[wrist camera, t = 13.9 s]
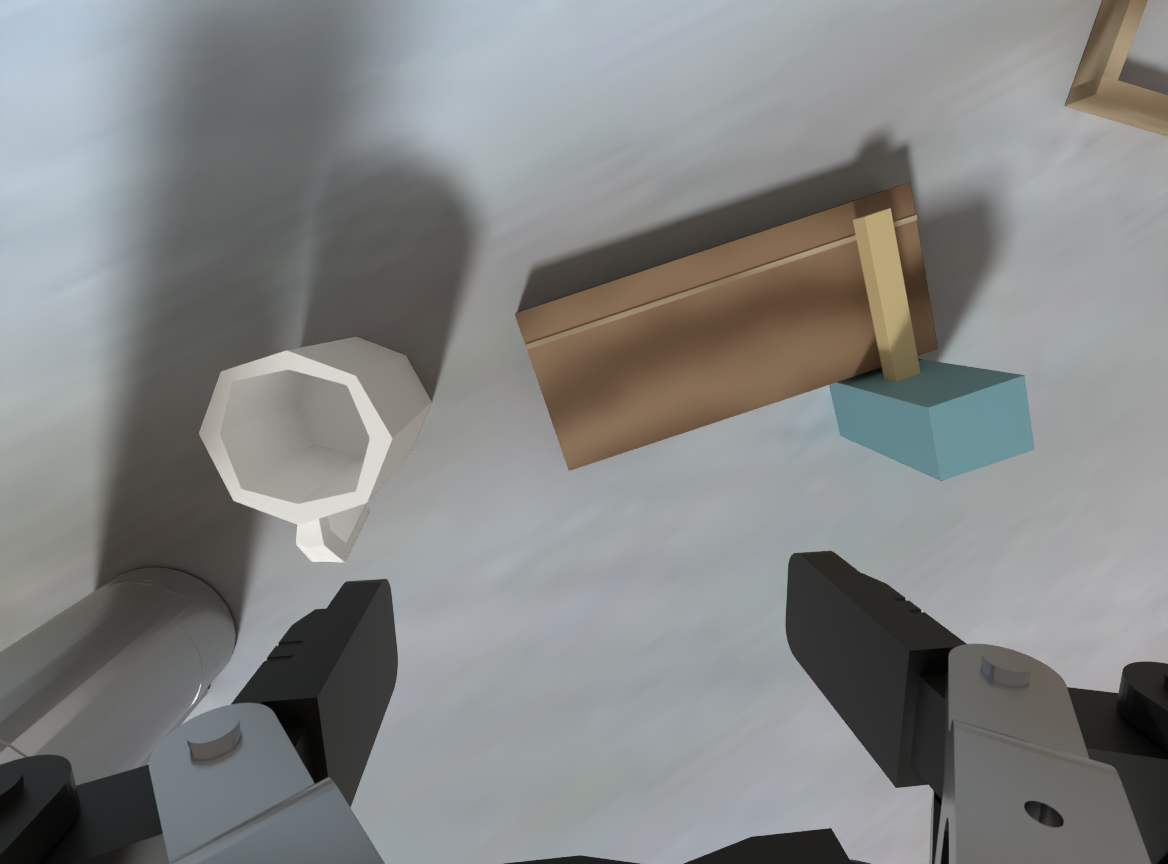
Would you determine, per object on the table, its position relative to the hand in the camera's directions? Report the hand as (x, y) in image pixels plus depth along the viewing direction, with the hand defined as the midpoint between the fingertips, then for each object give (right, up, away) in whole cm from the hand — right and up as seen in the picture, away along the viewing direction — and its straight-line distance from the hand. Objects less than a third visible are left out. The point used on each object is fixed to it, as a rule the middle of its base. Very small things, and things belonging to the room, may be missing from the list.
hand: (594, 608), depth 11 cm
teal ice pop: (+18, +10, +26) cm, 33 cm away
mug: (-14, +4, +25) cm, 29 cm away
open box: (+9, +10, +25) cm, 28 cm away
